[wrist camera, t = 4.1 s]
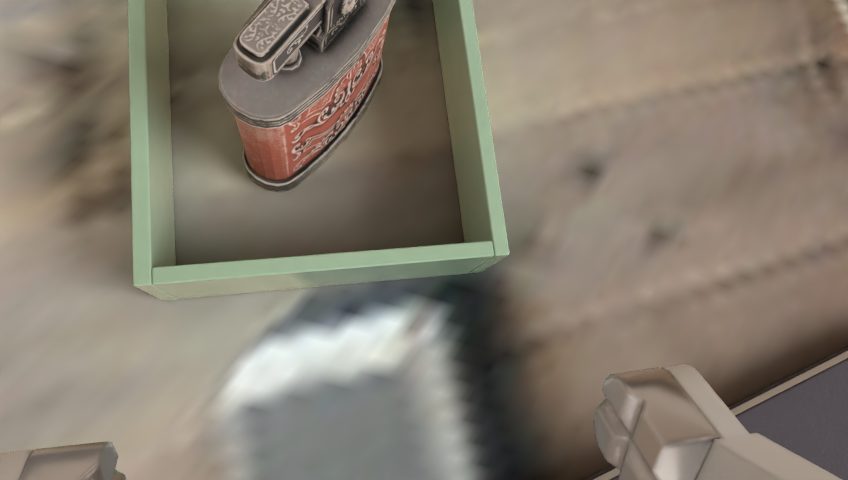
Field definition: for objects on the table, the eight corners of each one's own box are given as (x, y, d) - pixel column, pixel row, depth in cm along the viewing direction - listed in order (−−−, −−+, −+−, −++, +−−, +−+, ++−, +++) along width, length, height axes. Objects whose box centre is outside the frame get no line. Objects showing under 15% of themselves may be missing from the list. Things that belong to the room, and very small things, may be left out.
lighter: (337, 31, 28) (351, -153, 18) (398, 74, 28) (443, -87, 18) (224, 161, 25) (172, 30, 16) (290, 208, 26) (277, 106, 16)
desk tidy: (439, -34, 29) (458, -95, 26) (481, 272, 26) (510, 254, 23) (151, -38, 27) (125, -108, 23) (161, 301, 24) (132, 286, 20)
